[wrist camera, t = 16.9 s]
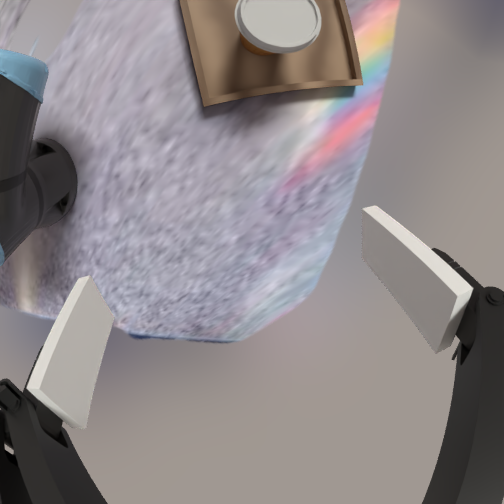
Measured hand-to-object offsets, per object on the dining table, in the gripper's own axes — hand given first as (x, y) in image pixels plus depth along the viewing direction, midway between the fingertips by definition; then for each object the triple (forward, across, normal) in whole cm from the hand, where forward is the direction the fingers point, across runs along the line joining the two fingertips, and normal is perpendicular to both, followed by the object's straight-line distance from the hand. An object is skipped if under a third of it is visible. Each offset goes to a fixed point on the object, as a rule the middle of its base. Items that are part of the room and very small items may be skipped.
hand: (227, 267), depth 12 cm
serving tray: (+32, +12, +17) cm, 38 cm away
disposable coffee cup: (+31, +10, +16) cm, 36 cm away
